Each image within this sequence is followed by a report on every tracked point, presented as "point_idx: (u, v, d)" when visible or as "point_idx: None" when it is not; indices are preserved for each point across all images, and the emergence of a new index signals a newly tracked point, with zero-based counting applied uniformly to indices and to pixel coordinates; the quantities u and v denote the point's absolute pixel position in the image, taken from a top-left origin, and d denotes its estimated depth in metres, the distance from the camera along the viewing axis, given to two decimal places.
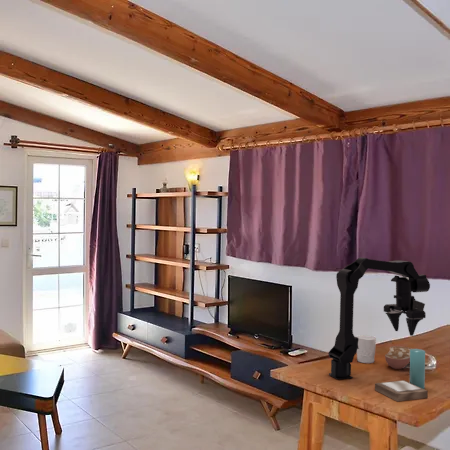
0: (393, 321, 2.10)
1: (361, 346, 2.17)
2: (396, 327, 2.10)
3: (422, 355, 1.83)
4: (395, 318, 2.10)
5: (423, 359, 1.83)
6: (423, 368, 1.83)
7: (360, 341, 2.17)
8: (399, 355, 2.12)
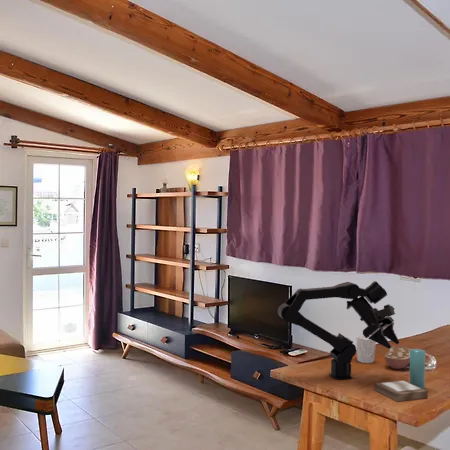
0: (388, 337, 1.96)
1: (361, 346, 2.17)
2: (395, 340, 1.94)
3: (422, 355, 1.83)
4: (388, 333, 1.96)
5: (423, 359, 1.83)
6: (423, 368, 1.83)
7: (359, 341, 2.17)
8: (399, 355, 2.12)
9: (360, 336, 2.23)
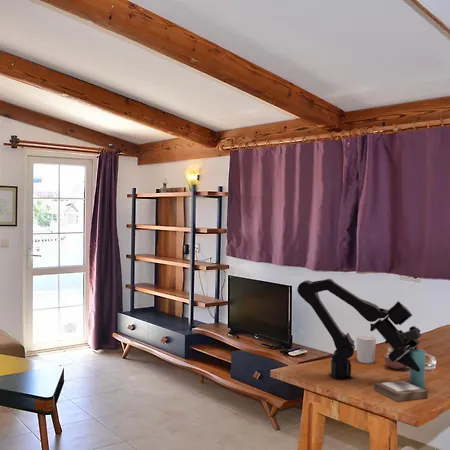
0: None
1: (361, 346, 2.17)
2: None
3: (422, 355, 1.83)
4: None
5: (423, 359, 1.83)
6: (423, 368, 1.83)
7: (359, 341, 2.17)
8: None
9: (360, 336, 2.23)
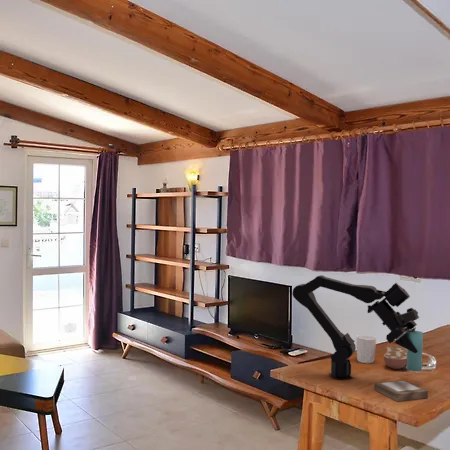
0: None
1: (361, 346, 2.17)
2: None
3: (420, 336, 1.82)
4: None
5: (421, 340, 1.82)
6: (420, 349, 1.82)
7: (360, 341, 2.17)
8: (397, 355, 2.13)
9: (360, 336, 2.23)
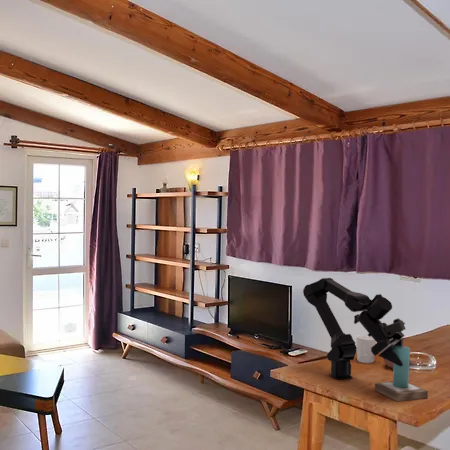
0: None
1: (361, 346, 2.17)
2: None
3: (406, 352, 1.76)
4: None
5: (407, 356, 1.76)
6: (407, 366, 1.76)
7: (359, 341, 2.17)
8: None
9: (360, 336, 2.23)
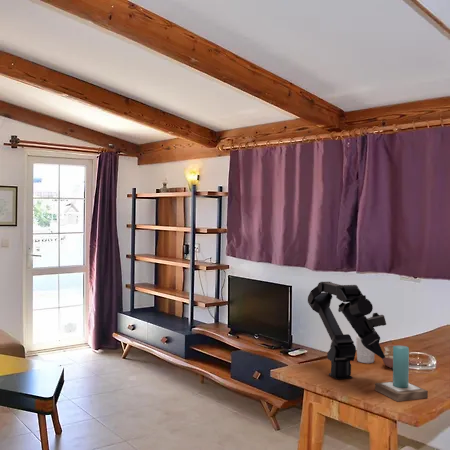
0: None
1: (361, 346, 2.17)
2: None
3: (405, 351, 1.76)
4: None
5: (406, 356, 1.76)
6: (406, 365, 1.76)
7: (360, 341, 2.17)
8: None
9: None
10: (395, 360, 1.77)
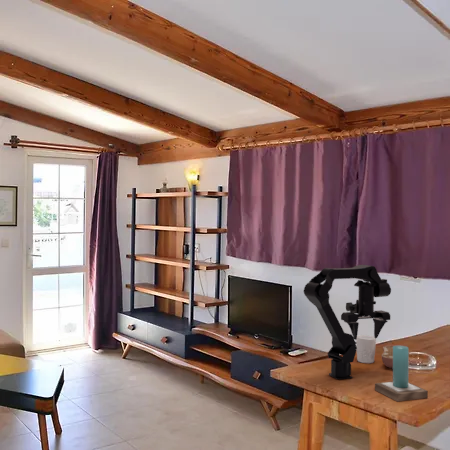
0: None
1: (361, 346, 2.17)
2: None
3: (405, 352, 1.76)
4: None
5: (406, 356, 1.76)
6: (406, 365, 1.76)
7: (360, 341, 2.17)
8: None
9: (360, 336, 2.23)
10: (395, 360, 1.77)
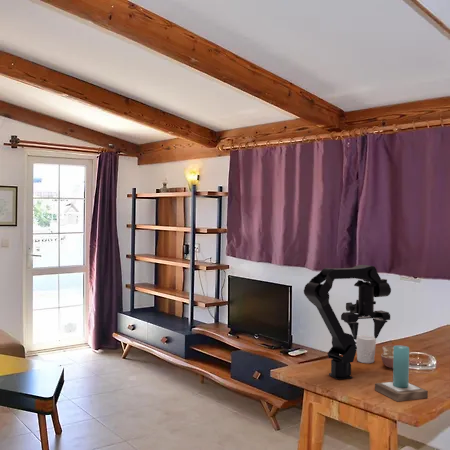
0: None
1: (361, 346, 2.17)
2: None
3: (405, 351, 1.76)
4: None
5: (407, 356, 1.76)
6: (407, 365, 1.76)
7: (360, 341, 2.17)
8: None
9: (360, 336, 2.23)
10: (395, 360, 1.77)
